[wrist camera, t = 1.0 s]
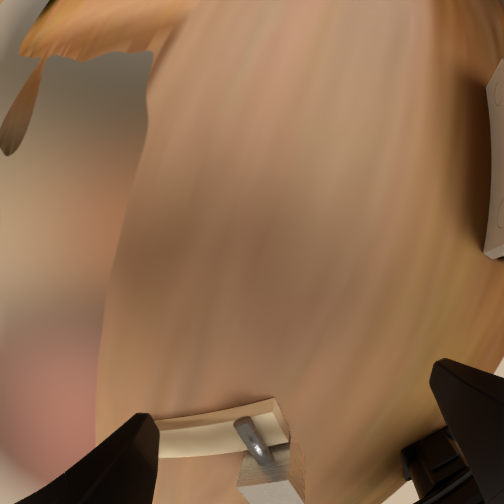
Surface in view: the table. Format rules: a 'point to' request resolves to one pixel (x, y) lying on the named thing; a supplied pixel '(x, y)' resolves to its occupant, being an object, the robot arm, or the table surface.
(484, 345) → the table surface
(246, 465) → the marking gauge
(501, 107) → the white rounded piece
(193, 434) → the pine board
